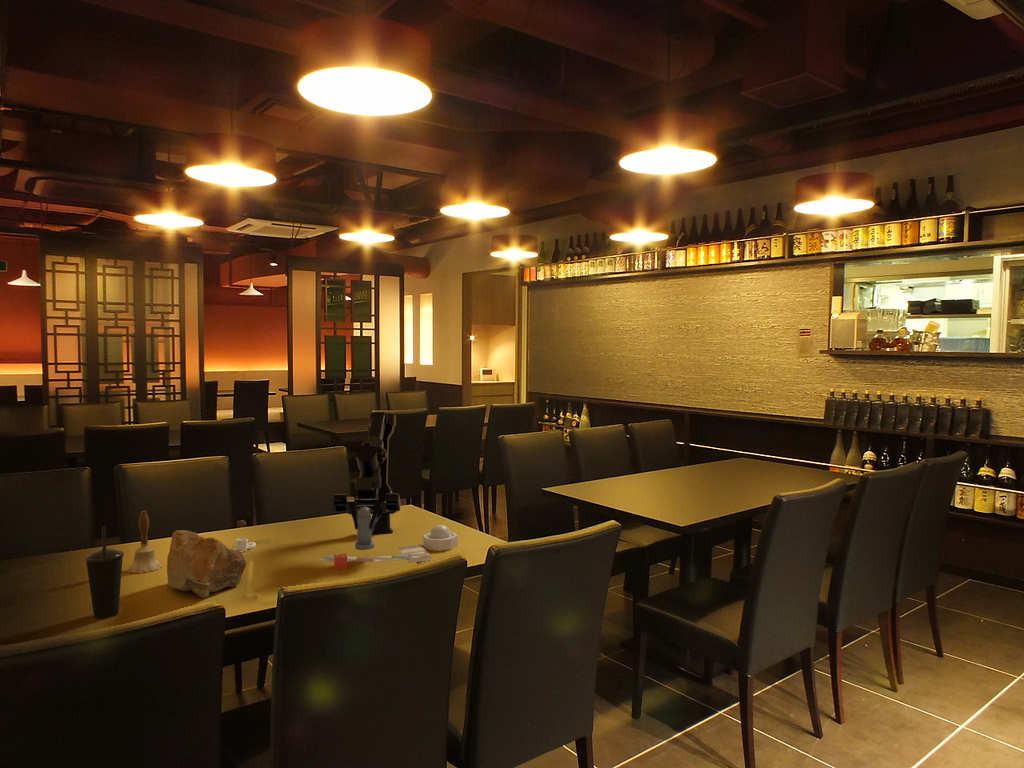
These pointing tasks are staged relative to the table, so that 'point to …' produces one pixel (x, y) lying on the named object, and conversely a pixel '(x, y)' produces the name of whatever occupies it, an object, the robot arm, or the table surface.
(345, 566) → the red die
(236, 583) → the rough brown rock
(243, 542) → the teacup and saucer
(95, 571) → the drinking cup
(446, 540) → the dome housing
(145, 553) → the hand bell
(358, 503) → the robot arm
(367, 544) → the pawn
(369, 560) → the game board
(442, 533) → the dome button
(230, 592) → the table surface
